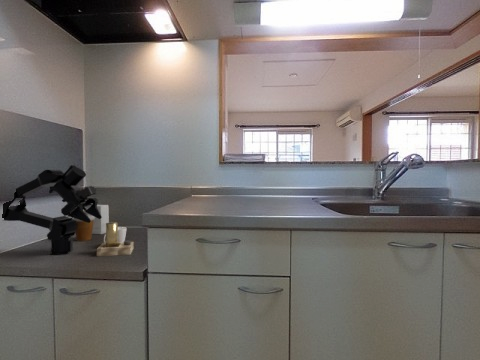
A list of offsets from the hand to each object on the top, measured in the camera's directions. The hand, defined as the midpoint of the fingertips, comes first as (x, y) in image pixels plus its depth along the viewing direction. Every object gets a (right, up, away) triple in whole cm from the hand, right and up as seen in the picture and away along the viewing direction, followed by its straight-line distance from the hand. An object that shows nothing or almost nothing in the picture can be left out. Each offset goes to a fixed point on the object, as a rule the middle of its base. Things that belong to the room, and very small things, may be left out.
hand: (95, 220), depth 109 cm
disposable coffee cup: (-18, -13, +21) cm, 31 cm away
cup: (+4, -14, +10) cm, 17 cm away
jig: (+8, -14, +1) cm, 16 cm away
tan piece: (+6, -14, +1) cm, 15 cm away
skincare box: (-18, -13, +36) cm, 43 cm away
